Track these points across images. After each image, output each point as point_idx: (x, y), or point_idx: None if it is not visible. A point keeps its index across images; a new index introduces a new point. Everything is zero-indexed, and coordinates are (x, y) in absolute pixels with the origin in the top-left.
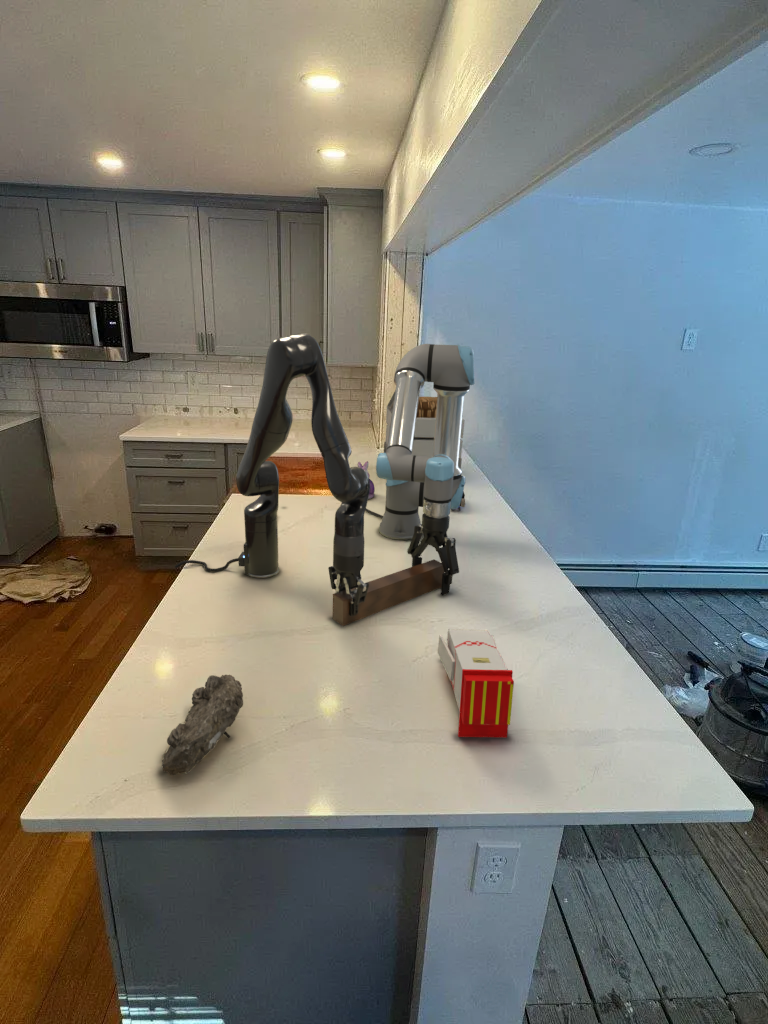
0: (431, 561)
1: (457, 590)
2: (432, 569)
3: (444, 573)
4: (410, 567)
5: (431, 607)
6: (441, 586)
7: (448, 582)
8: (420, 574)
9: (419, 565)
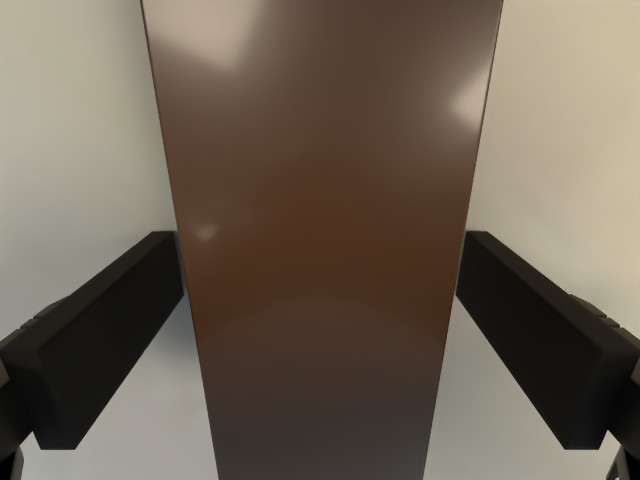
0: (392, 462)
1: (179, 359)
2: (196, 326)
3: (27, 370)
4: (490, 53)
5: (30, 13)
6: (136, 260)
7: (38, 315)
8: (148, 21)
9: (423, 262)
